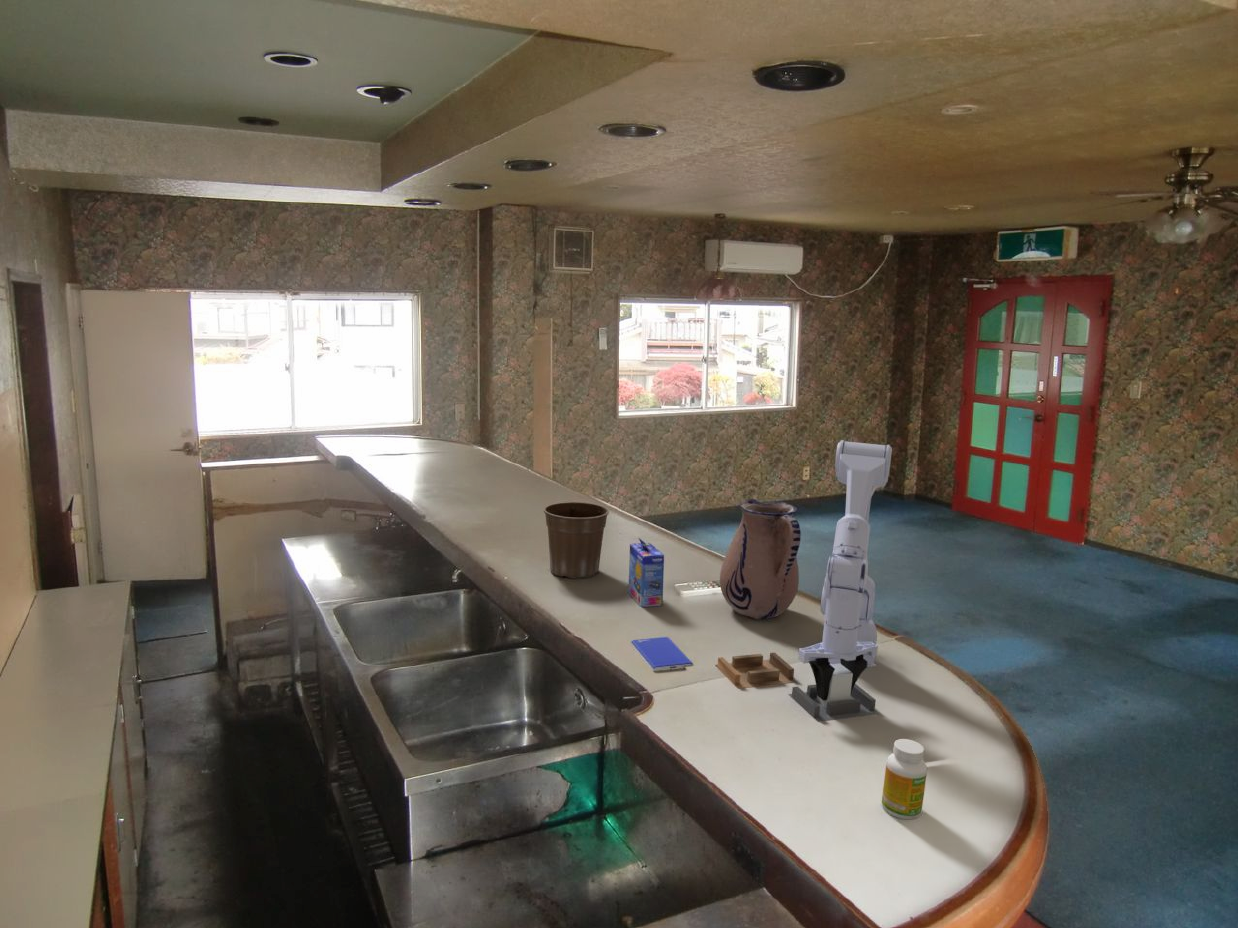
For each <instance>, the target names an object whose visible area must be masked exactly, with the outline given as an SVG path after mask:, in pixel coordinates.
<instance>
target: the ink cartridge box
mask: <svg viewBox="0 0 1238 928" xmlns="http://www.w3.org/2000/svg"><path fill="white" fill-rule="evenodd" d="M638 540H639V542H640V543H638V542H637V543H636V542H635V543H630V544H629V566H628V587H627V588H628V592H627V593H628V594H629V595H630V596H631V597H632V598H633V600H634V601H635V602H636V603H637V604H638V605H639V606H640V607H641V608H645V607H646V608H647V607H661V606H663V603H664V601H663V600H664V576H665V575H664V573H665V554H663V553H662V551H660V550H658V549H657V548H656V546H654V545H653V544H652V543H651V542H645V541H644V540H642V539H641V537H638Z"/></svg>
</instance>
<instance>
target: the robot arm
mask: <svg viewBox="0 0 1238 928" xmlns="http://www.w3.org/2000/svg"><path fill="white" fill-rule="evenodd" d="M892 452H893V448H892V447H891V444H886V445H885V444H876V443H865V442H856V441H854V442H853V441H846V440H844V439H840V441H839V442H838V443H837V446H836V452H835V461H834V470H835V476H836V479H837V482H840V483H841V484H844V485H845V486H846V495H845V496H846V497H845V513H844V516H842V518H840V519H838V521H837V522H836V527H835V533H834V540H833V541H834V542H833V548H832V554H831V556H829V558H828V561H827V566H826V572H825V573H826V575H825V577H824V581H823V582H824V583H823V586H822V587H823V588H822V592H821V601H820V612H821V613H822V615H824V622H823V632H822V639H821V640H822V641H821V642H819V643H815V644H813V645H810V646H806V647H801V648H798V655H797V659H798V660H799V661H800V662H801V663H802V664H809V666H810V668H811V670H812V673H813V677H814V682H815V684H816V688H817V696H819V697H820V698H821V699H822V700H827V697H828V693H829V685H830V681H831V677H832V675H833V672H834V670H835V668H833V667H832V666H831V665H830V664H841V665H843V666H844V667H845V668H847V669H848V670H849V671H851V672H852V673H853V677H852V685H851V692H852V690H853V687H854V685H855V684H856V683H857V681H858V680H859V677H860V676H861V675H862V673H863V672H864V671H865V670H866V669H867V668H869V667H870V668H871V667H877V664H876V663H875V657H877V656H878V648H879V646H878V645H877V641H878V640H877V639H878V632H877V627H876V625H875V623H874V621H873V615H874V609H875V608H874V607H875V605H874V604H875V597H876V591H875V590H876V584H875V581H874V580H873V579H872V577H870V575H868V572H869V569H868V568H869V559H868V551H869V541H870V534H871V525H870V523H869V521H870V520H869V519H870V509H871V503H872V497H873V495H874V493H875V491H876V489H879V488H882V487H886V484H887V483H888V482H889V481H888V480H889V475H890V469H891V461H892ZM850 695H851V694H850Z"/></svg>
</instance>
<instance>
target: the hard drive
mask: <svg viewBox="0 0 1238 928" xmlns="http://www.w3.org/2000/svg"><path fill="white" fill-rule="evenodd" d="M630 646H631V647H632V649H634V650H635V649H636V650H635V652H638V653H639V654H640V655H641V656H640V655H639V654H638V653H637V654H638V655H639V656H640V657H641V658H643V659H644V660H645V661H644V660H643V659H642V660H643V661H644V662H645V664H646V665H647V664H648V665H649V666H648V665H647V666H648V668H650V669H651V670H653V671H652V672H661V670H662V671H669V670H670V669H672V670H679V668H681V669H686V666H693V665H694V663H693V661H692V660H690V659H689V658H688V657H687V655H686V654H685V653H684V652H683V651H682V650H681V649H680V648H679V647H678V646H677V645H676V643H675V642H673V640H672V639H671V638H670V637H669V636H662V637H651V638H641V639H633V640H631V642H630ZM659 670H660V671H659Z"/></svg>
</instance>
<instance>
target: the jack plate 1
mask: <svg viewBox="0 0 1238 928" xmlns="http://www.w3.org/2000/svg"><path fill="white" fill-rule="evenodd" d="M731 658H732V660H731V663H729V662H728V660H726V658H724V657H718V658H717V664H714V666H715V667H716V668H717V670H718V671H720V673H722V675H724V676H725V677H726V678H727V679H728V680H729V681H730V683H731V684H732V685H733V686H734V687H735V688H736V689H738V690H740V689H745V688H746V689H748V688H759V687H767V686H775V685H787V684H794V683H797V681H796V680H795V678H794V673H795V668H793V667H792V666H791V665H790V664H789V663H788V662H787V661H785V660H784V659H783V658H782V657H781V656H779V655H778V654H777V653H776V652H770V653H769V658H768V659H764V655H763V654H762V653H755V654H746V655H744V654H742V655H736V656H735V655H734V656H732V657H731Z"/></svg>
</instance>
